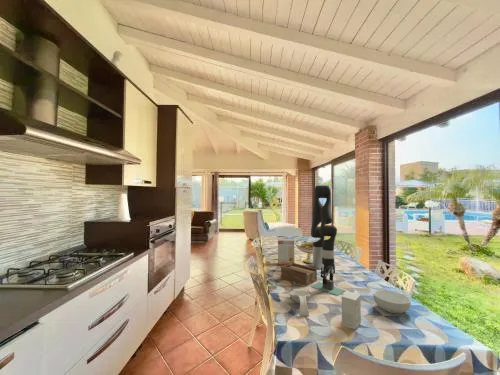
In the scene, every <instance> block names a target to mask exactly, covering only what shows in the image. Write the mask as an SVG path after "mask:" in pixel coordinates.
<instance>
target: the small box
mask: <svg viewBox="0 0 500 375" xmlns="http://www.w3.org/2000/svg"><path fill="white" fill-rule="evenodd" d="M361 298H362V297H361V294H359V293H356V292H352V291H348V290H346V291H345V293H344V294H342V296H341V325H342V326H343V327H347V328H350V329H353V330H357V329H358V327H359V325H360V324H361V323H362V321H361V320H362V318H361V316H362V315H361V314H362V312H361V311H362V310H361V308H362V305H361V304H362V302H361Z"/></svg>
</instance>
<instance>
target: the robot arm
mask: <svg viewBox="0 0 500 375" xmlns="http://www.w3.org/2000/svg"><path fill="white" fill-rule="evenodd" d="M313 194H314V198H313V201H314V202H313V208H312V209H313V210H312V223H311V228H310V236H311V238H313V239H317V240H316V241H313V242H312V268H316V269H317V270H320V278H322V280H323V282H322V283H323V284H325V285H326V284H327V279H328V276H329V279H328V280H332V281H334V275H335V273H336V265H335V240H336V236H337V234H338V228H337V226H336V225H334V224H332V222H333V215H332V189H331V186H330V185H324V184H323V185H315V186H314V193H313ZM320 199H325V200H326V201H325V202H324V204H323V203H322V202H321V201H320ZM331 224H332V225H331ZM319 225H320V226H319ZM325 237H329V238H328V239H325Z"/></svg>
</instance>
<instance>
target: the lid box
mask: <svg viewBox="0 0 500 375" xmlns="http://www.w3.org/2000/svg"><path fill="white" fill-rule="evenodd" d="M280 268H281V269H280V279H282V280H285V281H287V282H291V283H294V284H297V285H299V286H303V287H308V286H310V285H311V284H313V283H316V282H318V281H317V280H318V276H317V275H318V274H317V273H318V272H317V271H318V269H316V268H313V266H312V267H311V266H307V265H304V264H300V263H296V262H294V263H290V264H287V265H281V266H280Z"/></svg>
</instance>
